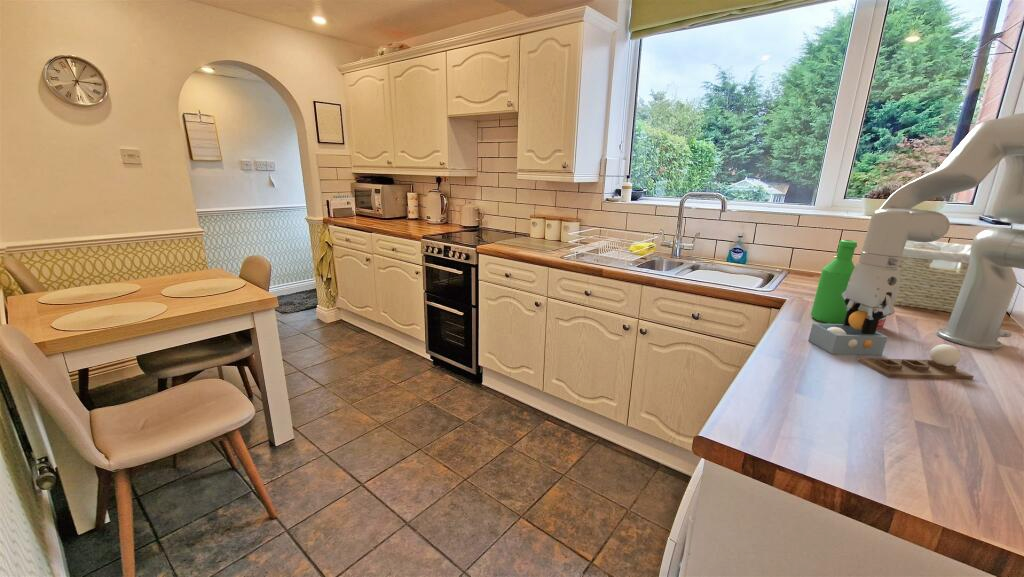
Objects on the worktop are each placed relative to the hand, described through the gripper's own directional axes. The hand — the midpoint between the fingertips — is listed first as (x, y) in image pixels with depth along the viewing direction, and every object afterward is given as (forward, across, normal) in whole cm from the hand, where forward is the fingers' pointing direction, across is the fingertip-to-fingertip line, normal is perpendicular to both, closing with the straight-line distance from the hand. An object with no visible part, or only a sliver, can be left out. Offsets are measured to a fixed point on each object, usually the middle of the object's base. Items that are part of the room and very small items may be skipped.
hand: (858, 328), depth 107 cm
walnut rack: (+5, -12, -4) cm, 14 cm away
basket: (+6, +44, -63) cm, 77 cm away
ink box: (+6, +19, -20) cm, 28 cm away
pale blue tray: (+5, 0, +2) cm, 6 cm away
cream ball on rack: (+1, -12, -11) cm, 16 cm away
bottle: (+6, +21, -10) cm, 24 cm away
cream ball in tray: (+2, 0, +6) cm, 6 cm away
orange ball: (-2, 0, 0) cm, 2 cm away
